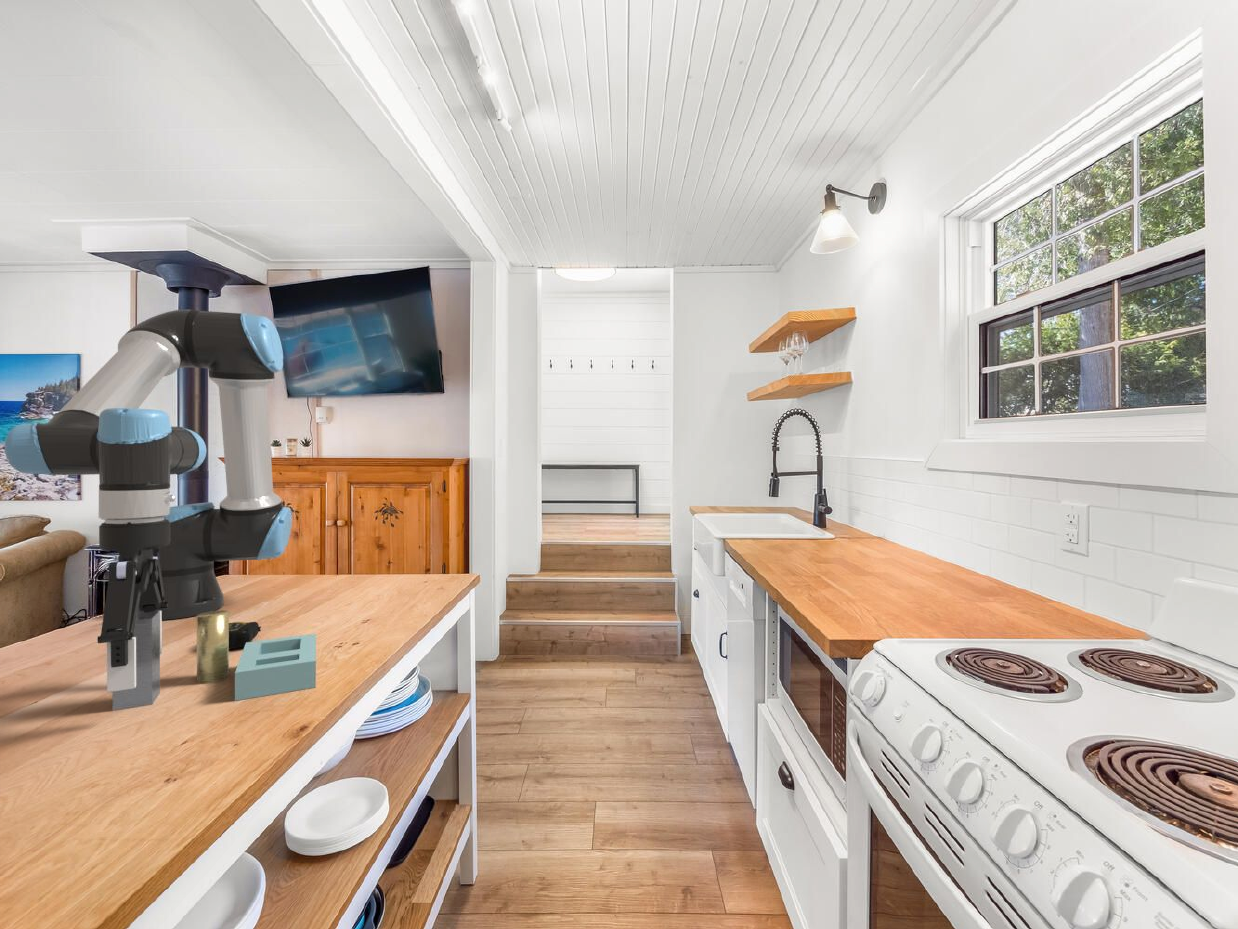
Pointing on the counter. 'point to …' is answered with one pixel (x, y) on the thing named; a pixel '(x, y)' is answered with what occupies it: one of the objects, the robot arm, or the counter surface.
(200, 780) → the counter surface
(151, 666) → the square bit
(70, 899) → the counter surface
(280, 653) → the socket block
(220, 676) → the round bit
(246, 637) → the tape measure
